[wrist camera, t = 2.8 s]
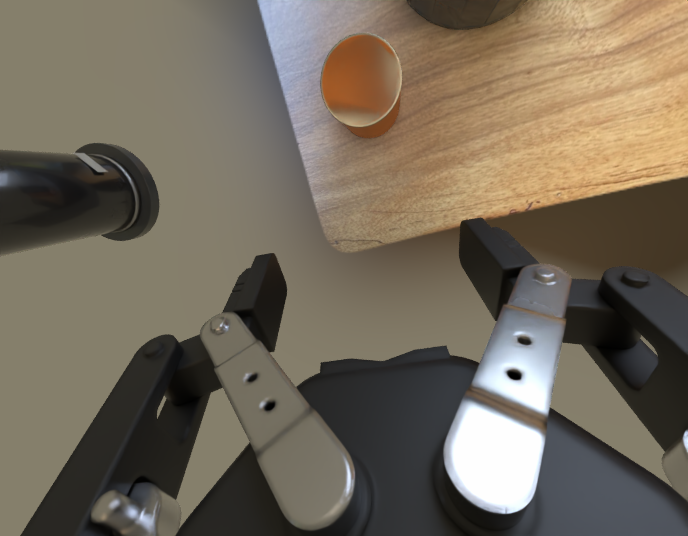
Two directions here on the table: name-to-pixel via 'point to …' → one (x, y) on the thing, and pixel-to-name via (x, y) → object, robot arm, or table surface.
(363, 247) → the table surface
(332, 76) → the orange tin
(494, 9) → the pot
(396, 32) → the table surface
